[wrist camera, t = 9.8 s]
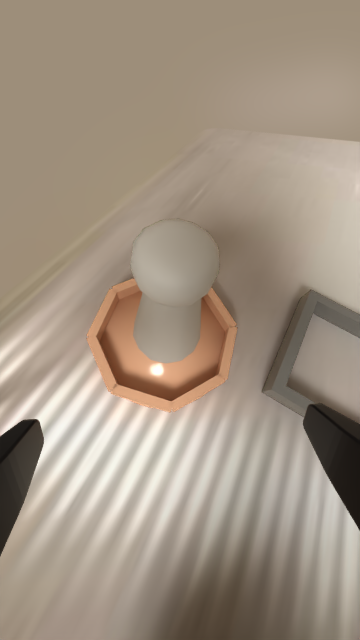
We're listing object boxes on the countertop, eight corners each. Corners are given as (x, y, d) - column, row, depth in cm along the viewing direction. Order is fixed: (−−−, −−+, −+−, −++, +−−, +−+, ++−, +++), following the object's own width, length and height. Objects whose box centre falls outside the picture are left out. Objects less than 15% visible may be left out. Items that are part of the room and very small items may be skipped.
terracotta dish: (130, 438, 19) (127, 440, 17) (77, 312, 23) (69, 302, 21) (253, 366, 22) (262, 361, 20) (188, 267, 26) (191, 254, 24)
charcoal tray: (385, 465, 20) (408, 470, 18) (261, 392, 21) (271, 389, 20) (403, 352, 24) (423, 347, 23) (300, 298, 26) (311, 289, 24)
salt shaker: (159, 381, 20) (161, 330, 8) (123, 332, 22) (82, 229, 10) (208, 344, 22) (267, 258, 10) (172, 301, 24) (187, 182, 12)
